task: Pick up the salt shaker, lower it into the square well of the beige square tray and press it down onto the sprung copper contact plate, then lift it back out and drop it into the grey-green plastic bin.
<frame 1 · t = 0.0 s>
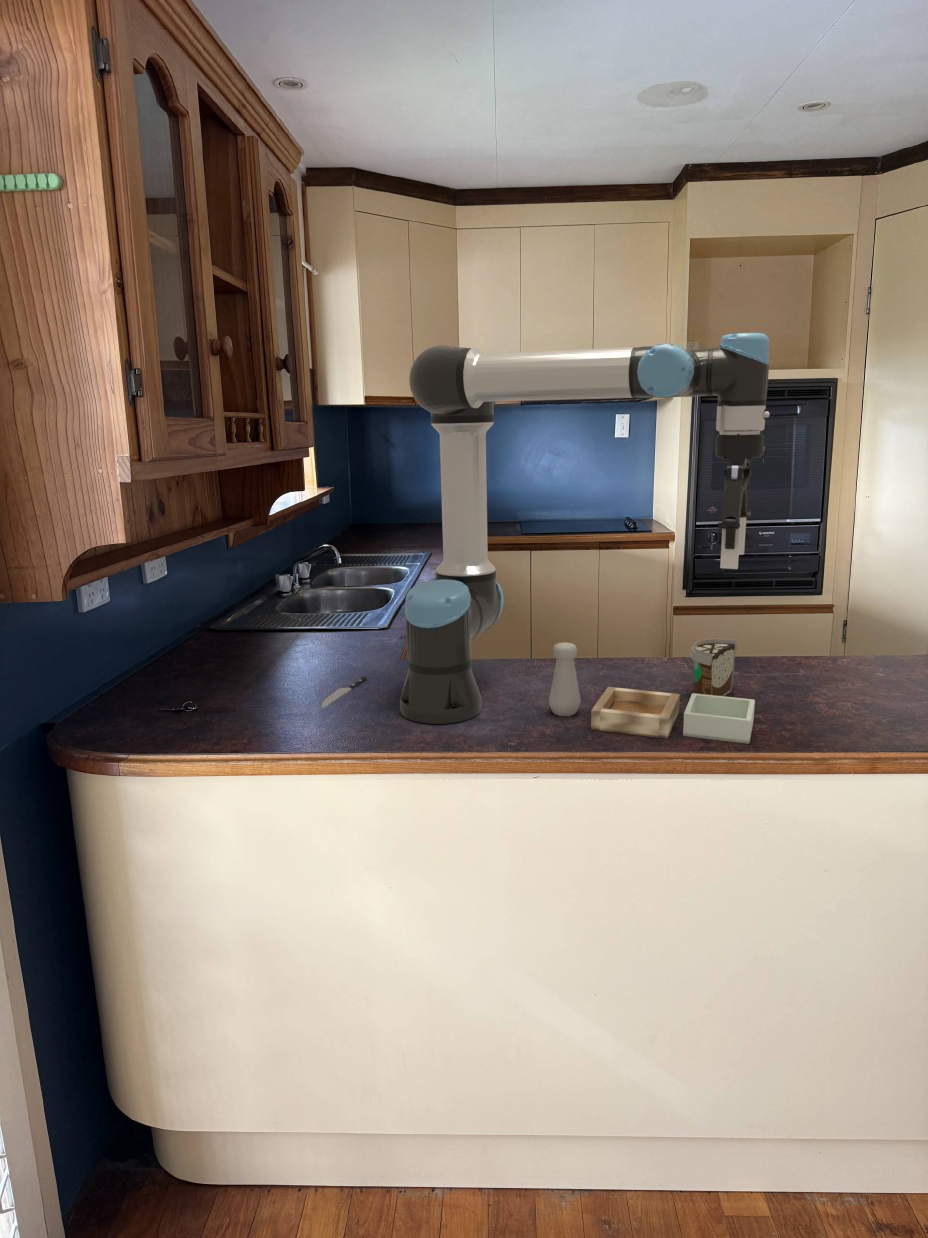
hand: (732, 561, 142), 28 cm above the worktop, tool pointing down, fingers open, 13 cm apart
chef's knife: (338, 696, 165), on the worktop
contact plate: (636, 714, 147), point 1 cm above the worktop, slide at 0.0 cm
beige square tray: (636, 720, 147), on the worktop
bin: (718, 728, 143), on the worktop
salt shaker: (564, 713, 152), on the worktop
food container: (706, 695, 160), on the worktop
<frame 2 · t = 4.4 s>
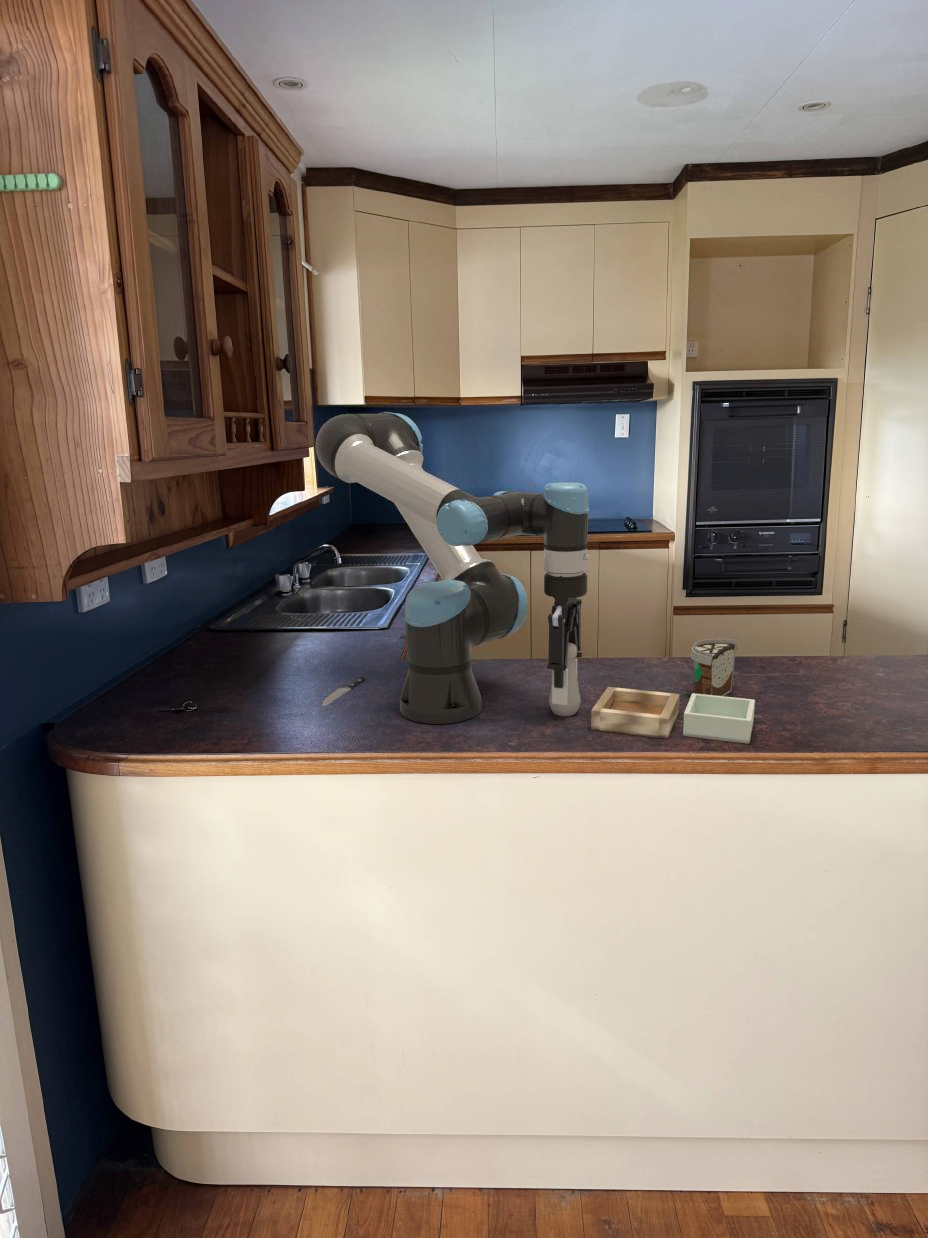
hand: (564, 697, 151), 3 cm above the worktop, tool pointing down, fingers closed on salt shaker, 6 cm apart
salt shaker: (564, 713, 152), on the worktop, touching gripper
everything else where it was.
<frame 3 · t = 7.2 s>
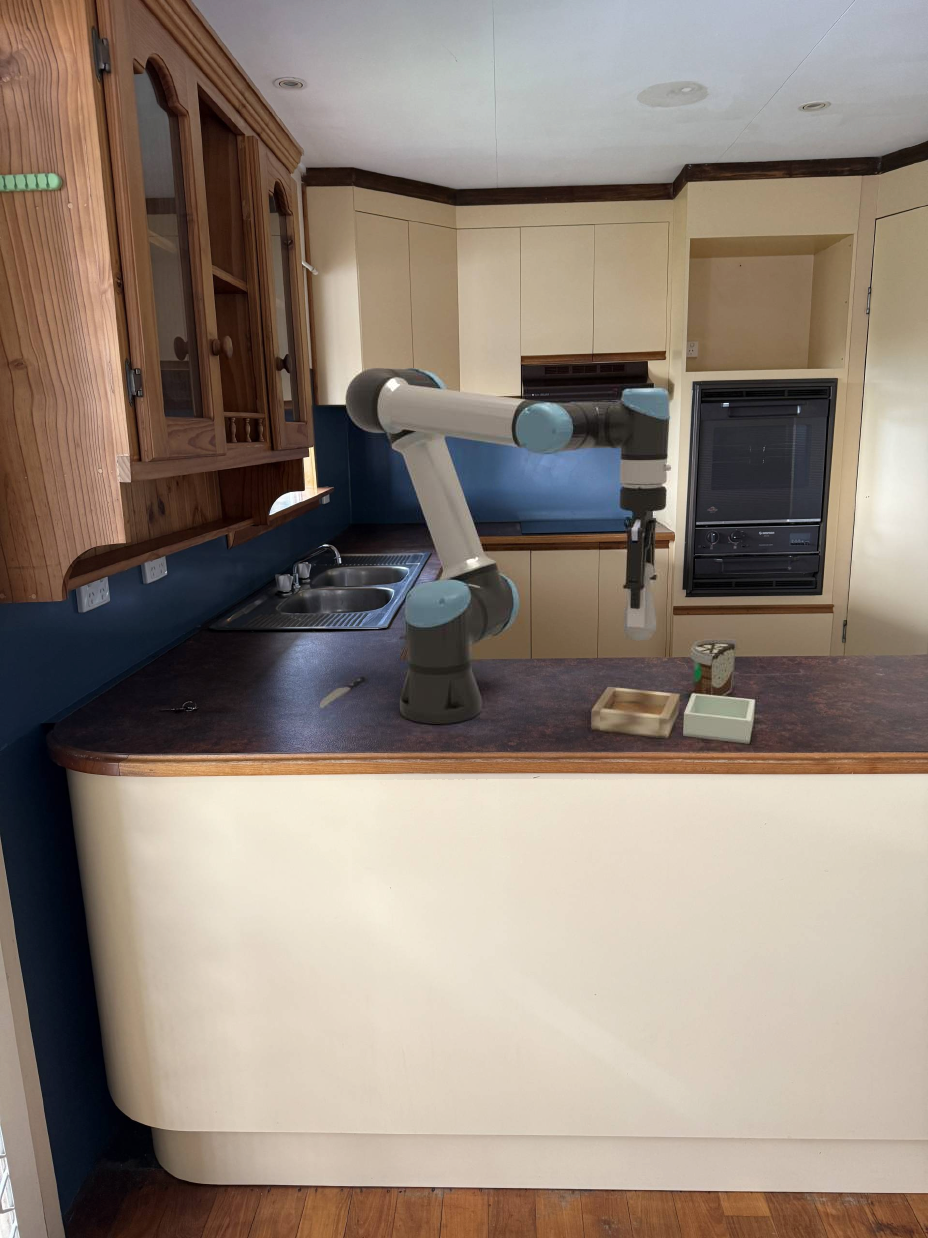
hand: (639, 621, 143), 18 cm above the worktop, tool pointing down, fingers closed on salt shaker, 6 cm apart
salt shaker: (638, 638, 144), point 15 cm above the worktop, touching gripper
everything else where it was.
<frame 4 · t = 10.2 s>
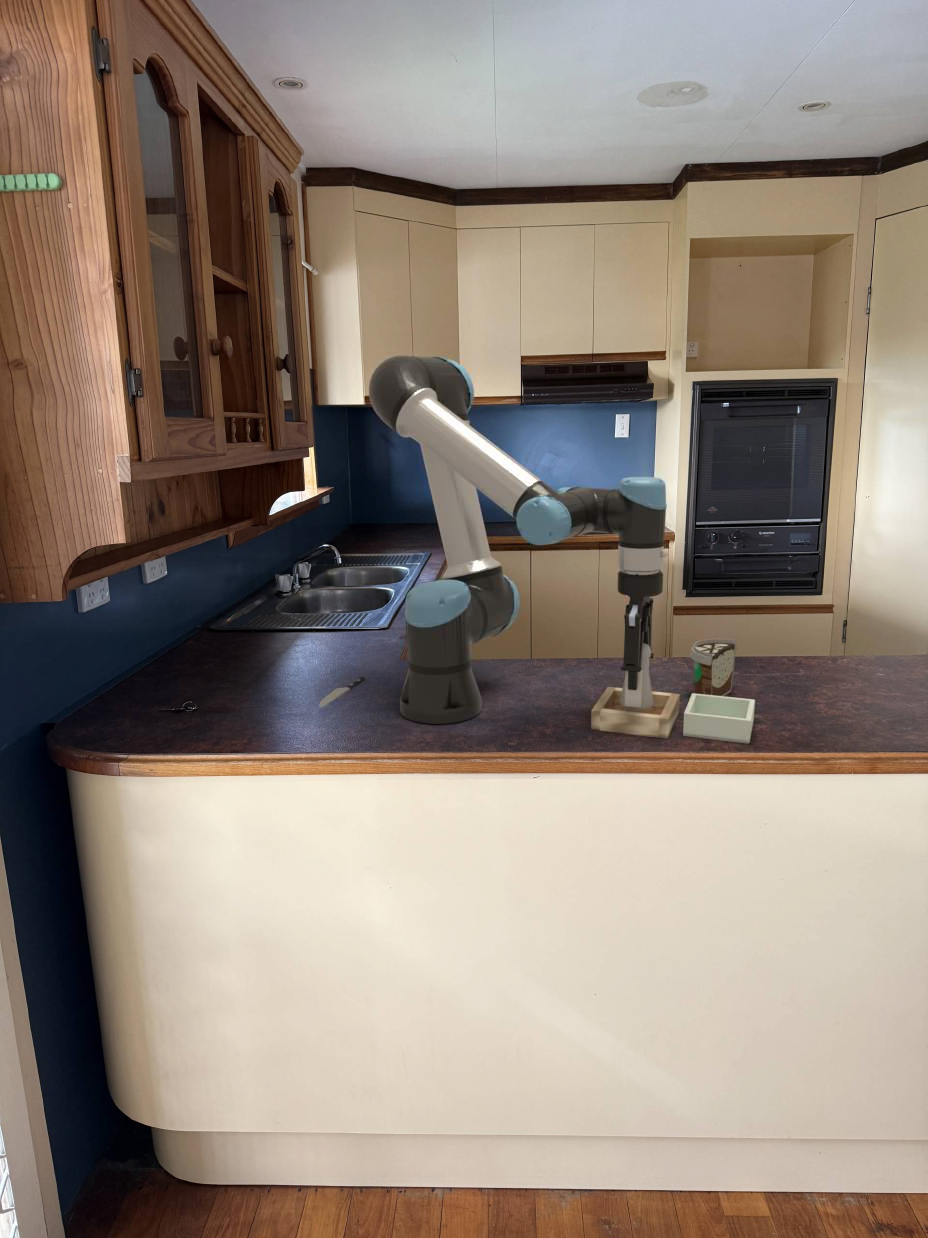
hand: (636, 699, 146), 4 cm above the worktop, tool pointing down, fingers closed on salt shaker, 6 cm apart
contact plate: (636, 716, 147), point 1 cm above the worktop, slide at 0.4 cm, touching salt shaker
salt shaker: (636, 716, 147), point 1 cm above the worktop, touching contact plate, gripper
everything else where it was.
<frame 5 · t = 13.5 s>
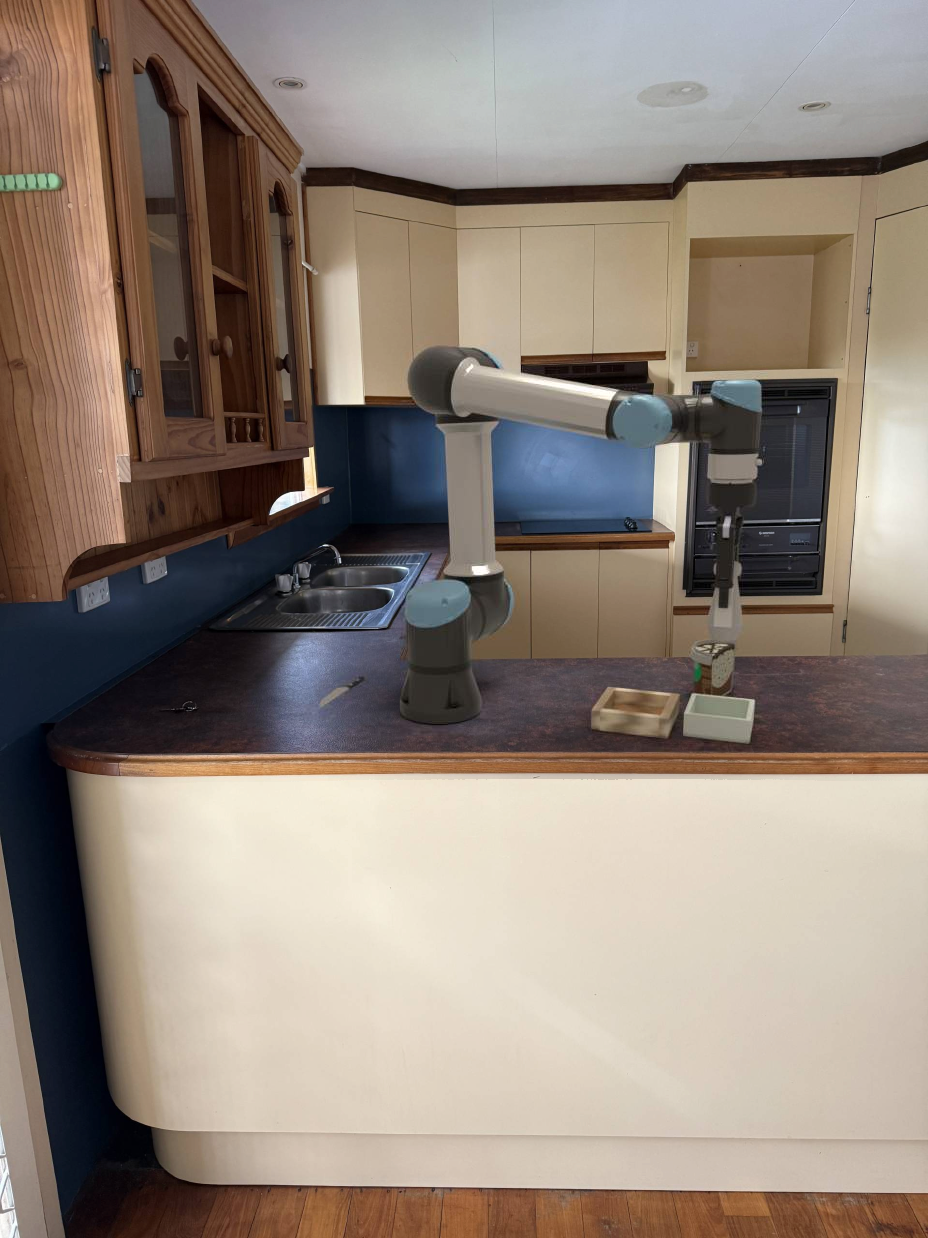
hand: (724, 621, 138), 19 cm above the worktop, tool pointing down, fingers closed on salt shaker, 6 cm apart
contact plate: (636, 716, 147), point 1 cm above the worktop, slide at 0.4 cm
salt shaker: (723, 638, 139), point 16 cm above the worktop, touching gripper
everything else where it was.
when the fingers open (6 cm above the worktop, at t = 16.2 s): salt shaker drops 2 cm, resting on bin.
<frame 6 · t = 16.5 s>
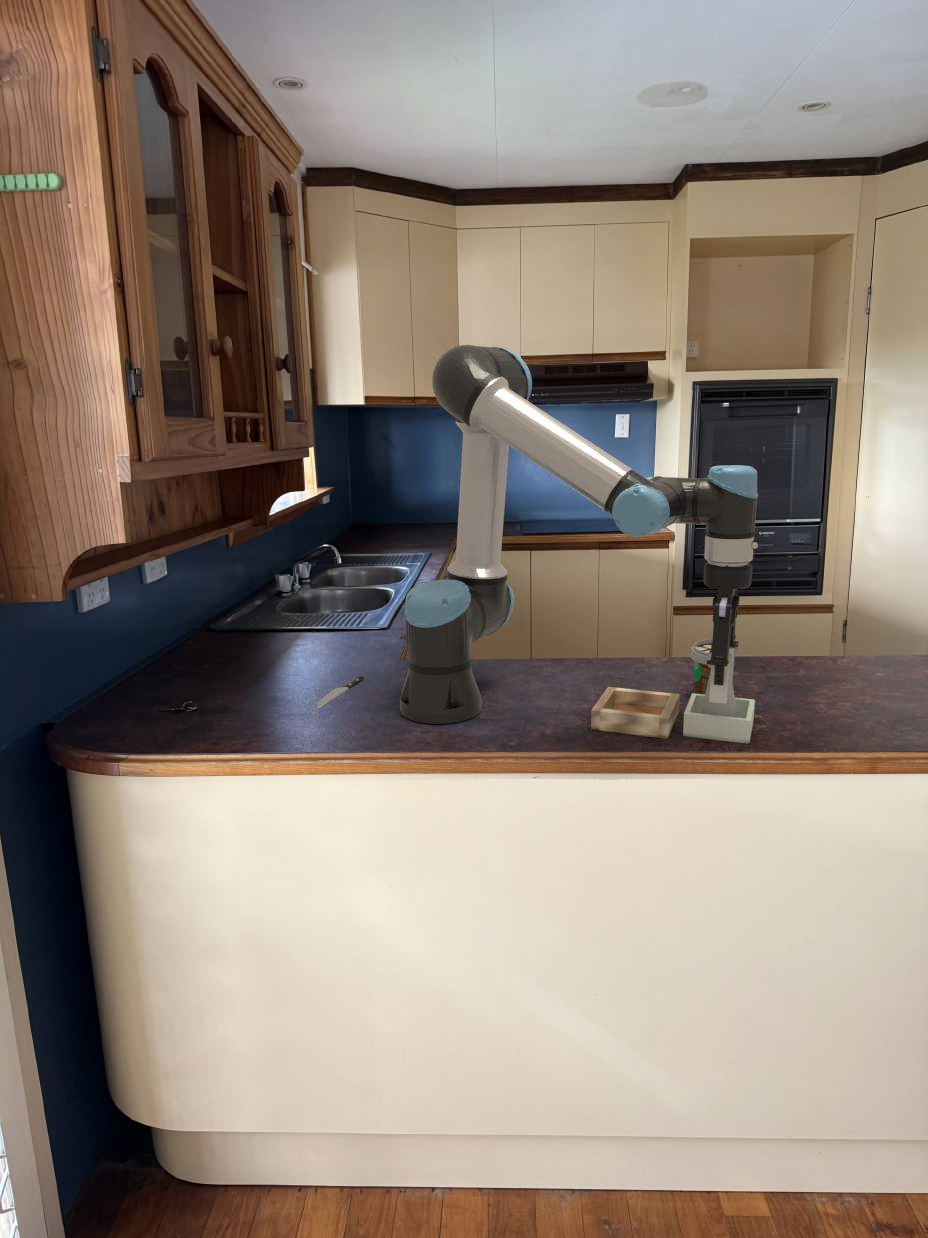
hand: (721, 692, 141), 7 cm above the worktop, tool pointing down, fingers open, 9 cm apart
salt shaker: (719, 726, 143), resting on bin
everything else where it was.
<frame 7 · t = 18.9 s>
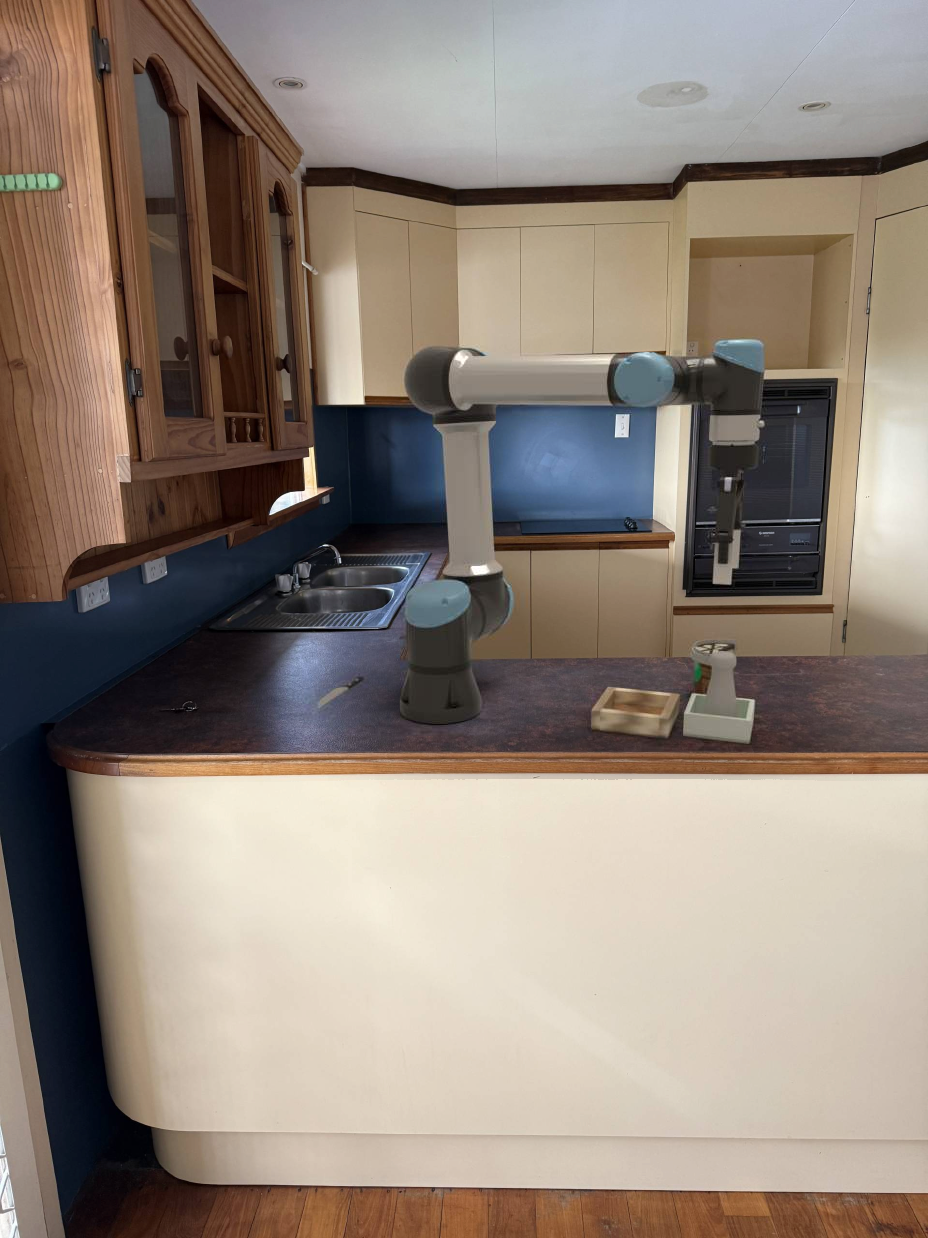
hand: (726, 575, 137), 27 cm above the worktop, tool pointing down, fingers open, 13 cm apart
nothing on the worktop moved.
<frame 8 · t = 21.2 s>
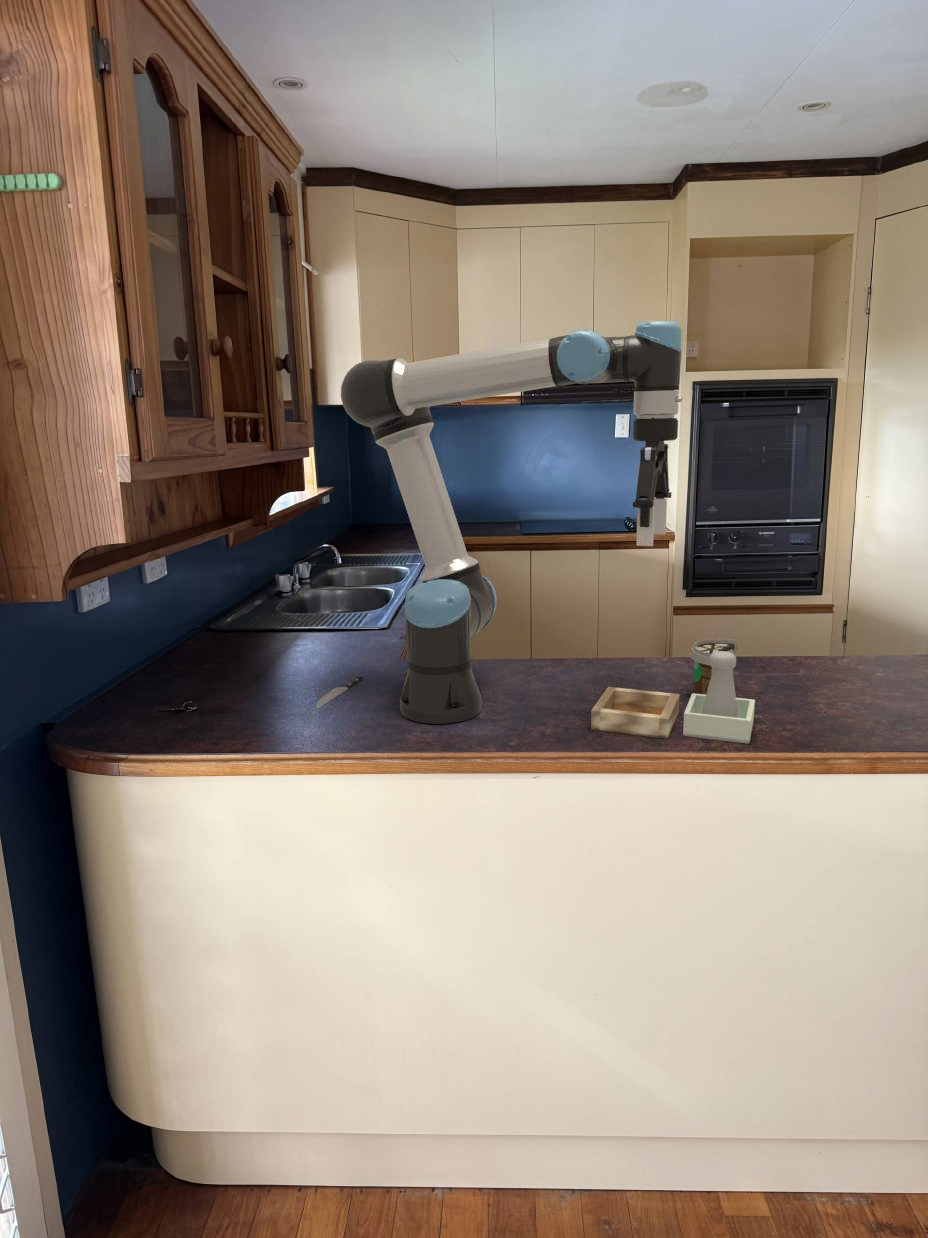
hand: (651, 539, 149), 31 cm above the worktop, tool pointing down, fingers open, 13 cm apart
nothing on the worktop moved.
at the end: salt shaker inside the target area on the bin (0.1 cm from its centre), point 0.3 cm above the bin's base; the gripper is holding nothing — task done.
